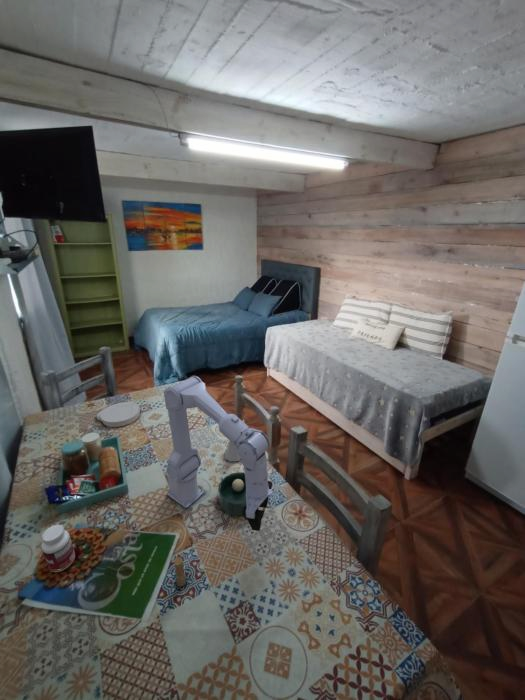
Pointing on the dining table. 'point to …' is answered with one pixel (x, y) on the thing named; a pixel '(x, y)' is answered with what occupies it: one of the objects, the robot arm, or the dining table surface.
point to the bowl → (232, 494)
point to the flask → (232, 453)
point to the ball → (237, 485)
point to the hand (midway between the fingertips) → (259, 517)
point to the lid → (119, 414)
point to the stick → (179, 571)
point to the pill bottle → (57, 548)
